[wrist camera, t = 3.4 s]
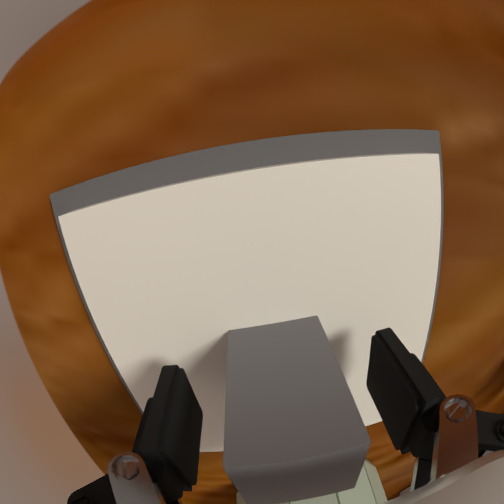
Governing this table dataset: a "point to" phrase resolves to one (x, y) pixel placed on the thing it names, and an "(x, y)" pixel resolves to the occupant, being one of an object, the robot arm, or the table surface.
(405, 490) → the figurine
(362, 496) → the bowl
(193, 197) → the lid
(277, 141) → the mat
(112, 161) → the table surface
